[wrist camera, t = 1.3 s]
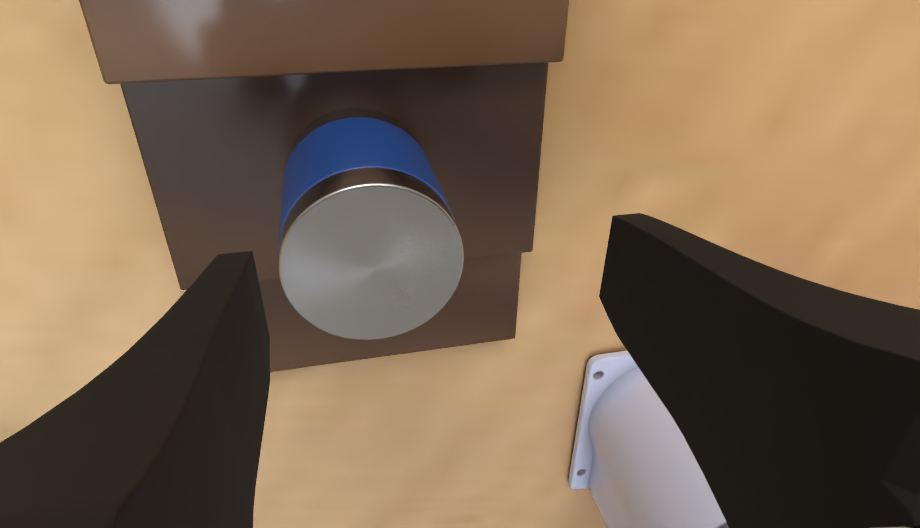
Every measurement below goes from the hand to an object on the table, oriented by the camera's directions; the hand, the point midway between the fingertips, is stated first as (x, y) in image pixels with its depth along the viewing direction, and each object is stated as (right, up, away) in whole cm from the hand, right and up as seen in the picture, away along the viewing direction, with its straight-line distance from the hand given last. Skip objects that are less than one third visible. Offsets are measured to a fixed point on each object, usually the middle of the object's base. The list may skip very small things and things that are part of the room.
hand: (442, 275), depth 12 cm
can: (-3, +3, +7) cm, 8 cm away
